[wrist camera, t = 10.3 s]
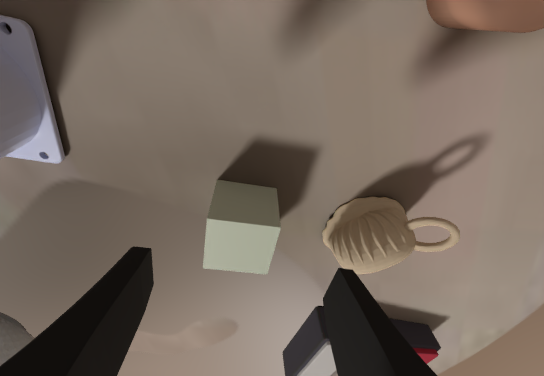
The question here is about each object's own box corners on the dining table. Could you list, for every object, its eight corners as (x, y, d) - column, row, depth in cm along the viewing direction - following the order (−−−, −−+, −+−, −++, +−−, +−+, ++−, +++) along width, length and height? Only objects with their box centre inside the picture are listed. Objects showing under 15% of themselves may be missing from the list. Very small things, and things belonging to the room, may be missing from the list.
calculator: (391, 394, 34) (285, 392, 30) (377, 358, 38) (281, 352, 34) (447, 355, 29) (327, 346, 25) (425, 316, 32) (316, 304, 28)
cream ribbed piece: (310, 217, 21) (324, 271, 17) (413, 173, 19) (460, 221, 15) (328, 247, 23) (345, 303, 19) (423, 210, 21) (467, 262, 17)
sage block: (212, 224, 21) (203, 268, 17) (217, 179, 19) (207, 218, 15) (265, 230, 22) (267, 274, 18) (276, 187, 19) (280, 227, 16)
